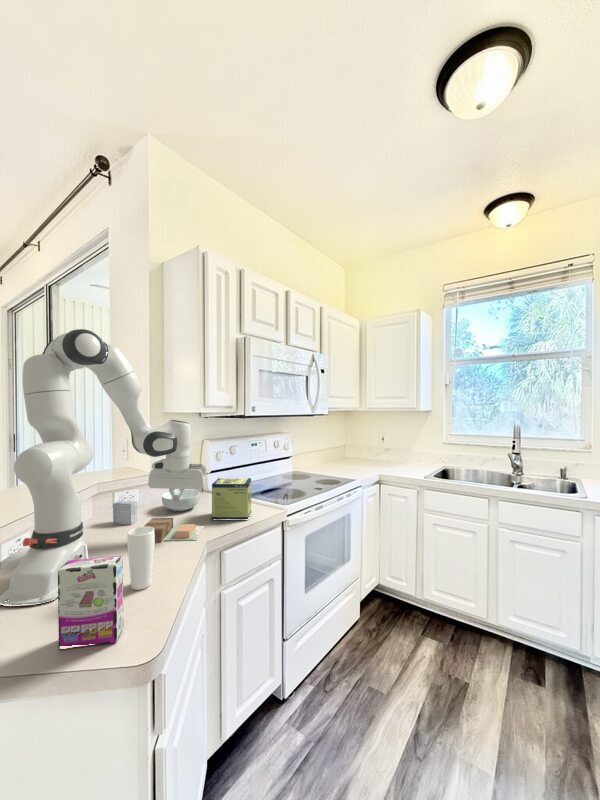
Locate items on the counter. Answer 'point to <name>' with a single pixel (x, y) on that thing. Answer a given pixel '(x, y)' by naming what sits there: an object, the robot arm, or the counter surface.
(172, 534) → the sage mat
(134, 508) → the medicine box
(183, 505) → the cereal bowl
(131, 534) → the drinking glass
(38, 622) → the counter surface
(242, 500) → the protein box
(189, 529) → the terracotta tile
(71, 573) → the candy bar box
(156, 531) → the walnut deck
